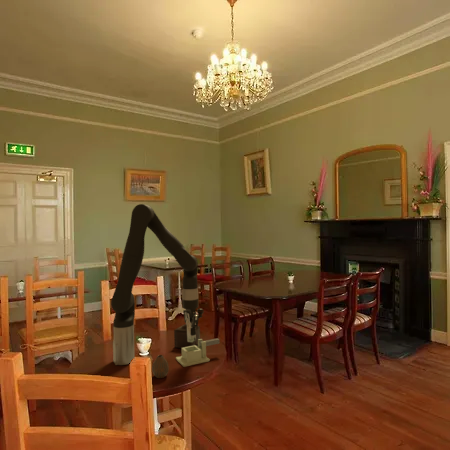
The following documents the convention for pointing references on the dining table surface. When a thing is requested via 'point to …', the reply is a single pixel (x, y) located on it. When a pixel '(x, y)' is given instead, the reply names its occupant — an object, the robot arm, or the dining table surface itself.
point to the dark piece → (181, 334)
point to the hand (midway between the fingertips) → (191, 333)
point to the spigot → (189, 337)
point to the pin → (210, 342)
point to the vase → (160, 367)
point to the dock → (193, 354)
